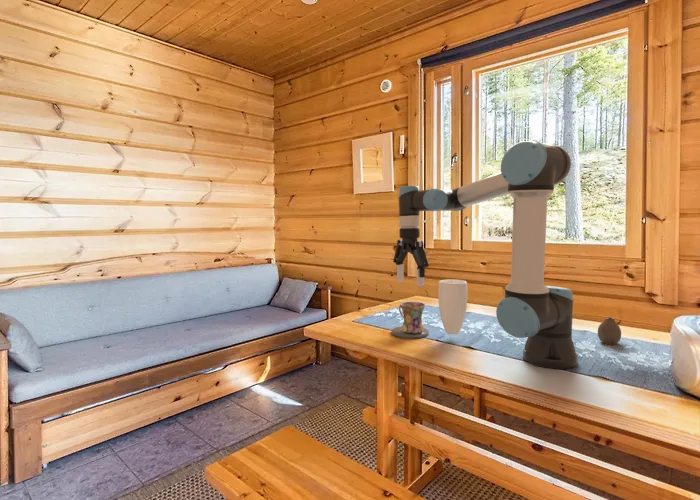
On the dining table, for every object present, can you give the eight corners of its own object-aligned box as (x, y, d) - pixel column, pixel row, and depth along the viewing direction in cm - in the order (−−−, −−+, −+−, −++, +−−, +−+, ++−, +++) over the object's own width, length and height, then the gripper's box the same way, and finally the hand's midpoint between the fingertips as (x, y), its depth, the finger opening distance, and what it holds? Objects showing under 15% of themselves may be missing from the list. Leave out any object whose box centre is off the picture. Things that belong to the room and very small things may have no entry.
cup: (471, 339, 148) (471, 280, 146) (461, 346, 139) (462, 284, 137) (444, 334, 154) (444, 278, 152) (433, 342, 145) (433, 282, 143)
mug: (430, 332, 154) (430, 304, 153) (412, 337, 148) (412, 308, 147) (408, 325, 163) (407, 299, 162) (390, 329, 158) (390, 302, 157)
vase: (609, 347, 137) (610, 321, 136) (592, 341, 143) (593, 316, 143) (625, 345, 138) (626, 319, 138) (608, 339, 145) (609, 315, 144)
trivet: (436, 335, 153) (436, 333, 153) (404, 341, 147) (404, 338, 147) (414, 326, 165) (414, 324, 165) (385, 331, 159) (384, 328, 159)
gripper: (438, 227, 143) (438, 287, 144) (400, 226, 165) (400, 278, 167) (420, 228, 140) (421, 289, 141) (384, 227, 162) (385, 280, 164)
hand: (410, 283), depth 154 cm, fingers open, 13 cm apart
